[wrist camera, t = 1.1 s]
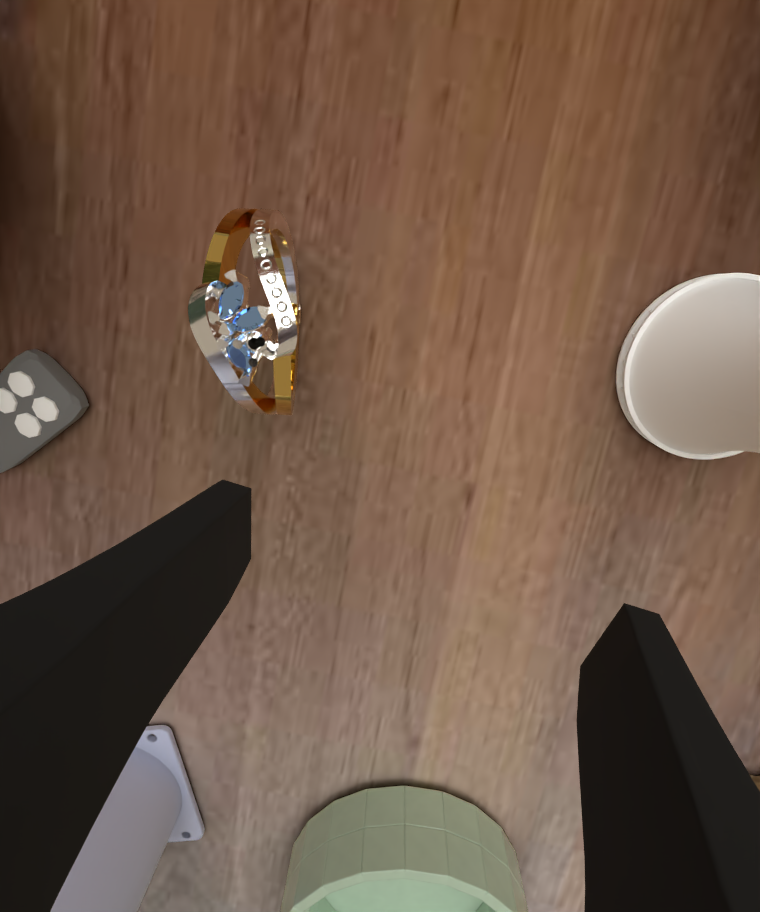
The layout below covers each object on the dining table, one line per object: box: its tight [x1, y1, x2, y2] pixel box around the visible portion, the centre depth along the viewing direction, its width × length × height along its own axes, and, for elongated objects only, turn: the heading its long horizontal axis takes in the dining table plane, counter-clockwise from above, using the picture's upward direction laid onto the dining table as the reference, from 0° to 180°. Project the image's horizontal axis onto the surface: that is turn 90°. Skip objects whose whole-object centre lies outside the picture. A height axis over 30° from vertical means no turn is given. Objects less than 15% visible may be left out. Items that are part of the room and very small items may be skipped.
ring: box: [188, 208, 301, 415], centre depth 19 cm, size 7×3×8 cm, turn 177°
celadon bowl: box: [280, 786, 528, 912], centre depth 29 cm, size 13×13×5 cm
